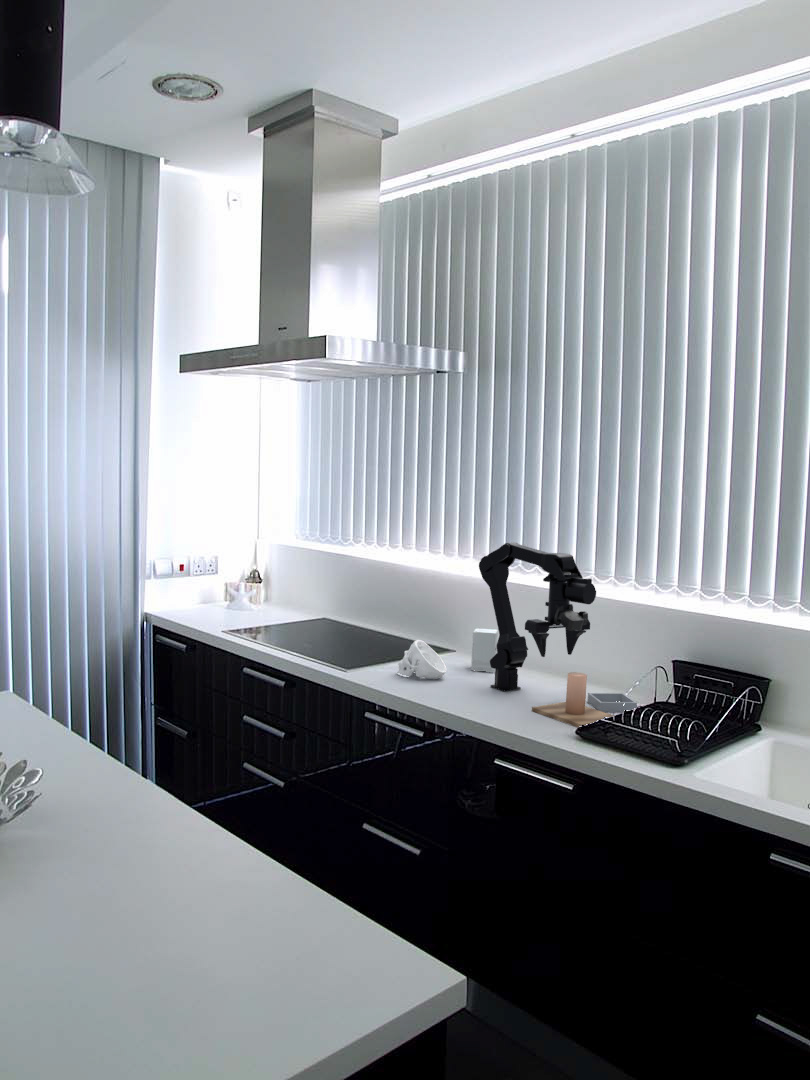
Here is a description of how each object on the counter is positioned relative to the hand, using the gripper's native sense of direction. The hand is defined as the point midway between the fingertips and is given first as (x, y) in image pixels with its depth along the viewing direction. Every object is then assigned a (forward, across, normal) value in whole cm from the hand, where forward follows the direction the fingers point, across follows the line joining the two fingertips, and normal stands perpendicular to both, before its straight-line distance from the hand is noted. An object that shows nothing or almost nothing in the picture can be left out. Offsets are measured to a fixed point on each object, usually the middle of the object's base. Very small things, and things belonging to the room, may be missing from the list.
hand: (556, 655), depth 254 cm
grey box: (+13, +12, -10) cm, 20 cm away
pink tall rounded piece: (+12, -4, -13) cm, 18 cm away
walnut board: (+13, -4, -13) cm, 19 cm away
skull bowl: (+13, -20, +39) cm, 46 cm away
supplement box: (+13, +4, +41) cm, 43 cm away
